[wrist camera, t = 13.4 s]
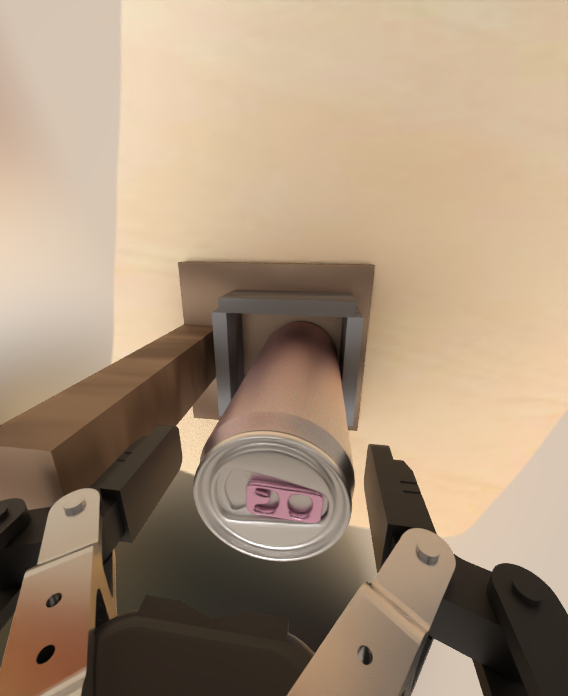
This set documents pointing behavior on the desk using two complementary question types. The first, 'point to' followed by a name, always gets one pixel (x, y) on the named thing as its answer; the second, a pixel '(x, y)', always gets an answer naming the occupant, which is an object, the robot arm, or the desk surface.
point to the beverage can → (281, 453)
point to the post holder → (185, 370)
